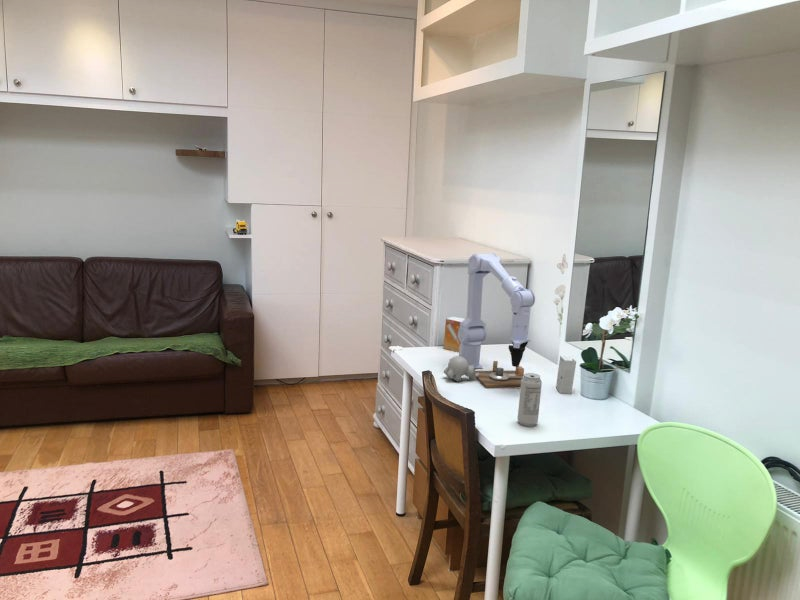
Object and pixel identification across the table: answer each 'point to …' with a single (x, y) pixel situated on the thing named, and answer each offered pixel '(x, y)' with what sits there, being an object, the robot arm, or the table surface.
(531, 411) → the energy drink can
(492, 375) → the dial plate
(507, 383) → the walnut board
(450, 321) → the small box
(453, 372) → the chubby cartoon animal
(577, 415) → the table surface
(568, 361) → the skincare box
